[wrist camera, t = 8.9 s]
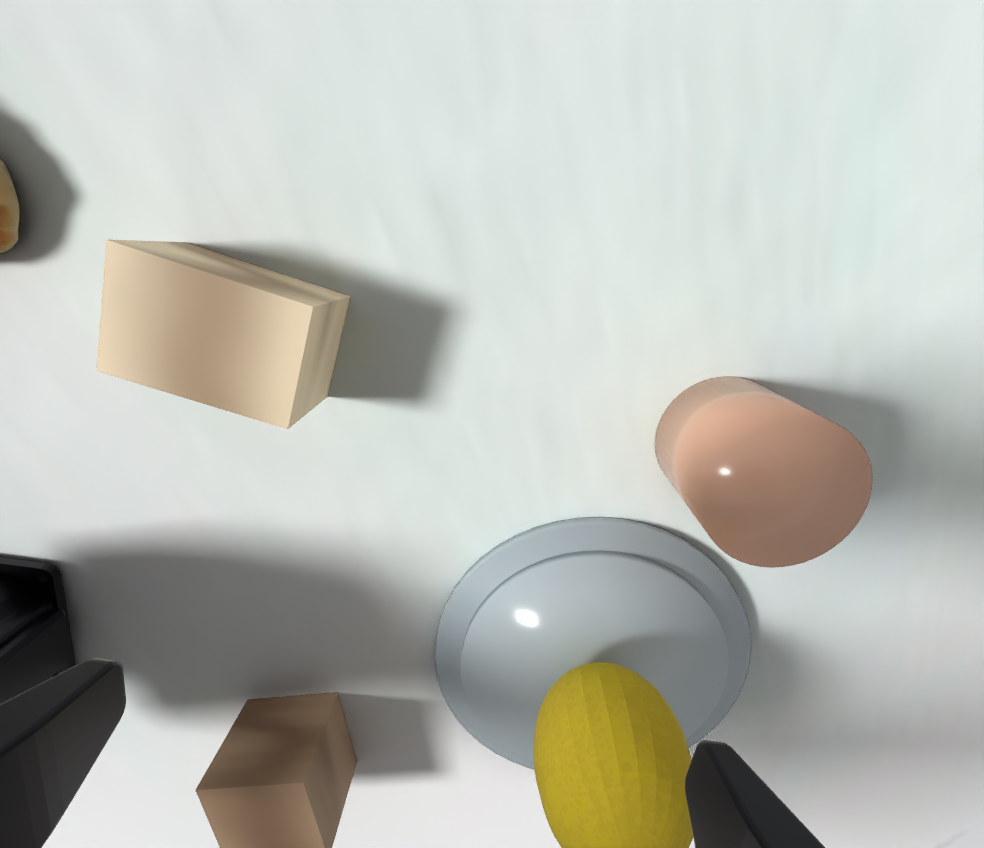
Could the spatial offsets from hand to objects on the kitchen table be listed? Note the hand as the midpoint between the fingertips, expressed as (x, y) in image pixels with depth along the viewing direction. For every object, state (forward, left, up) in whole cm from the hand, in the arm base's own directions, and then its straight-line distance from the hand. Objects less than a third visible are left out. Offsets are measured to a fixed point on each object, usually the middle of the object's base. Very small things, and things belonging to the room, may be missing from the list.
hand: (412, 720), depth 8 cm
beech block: (-8, +3, -13) cm, 16 cm away
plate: (+7, -10, -13) cm, 18 cm away
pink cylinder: (+10, +1, -13) cm, 16 cm away
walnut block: (-6, -17, -13) cm, 22 cm away
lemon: (+7, -10, -12) cm, 17 cm away
